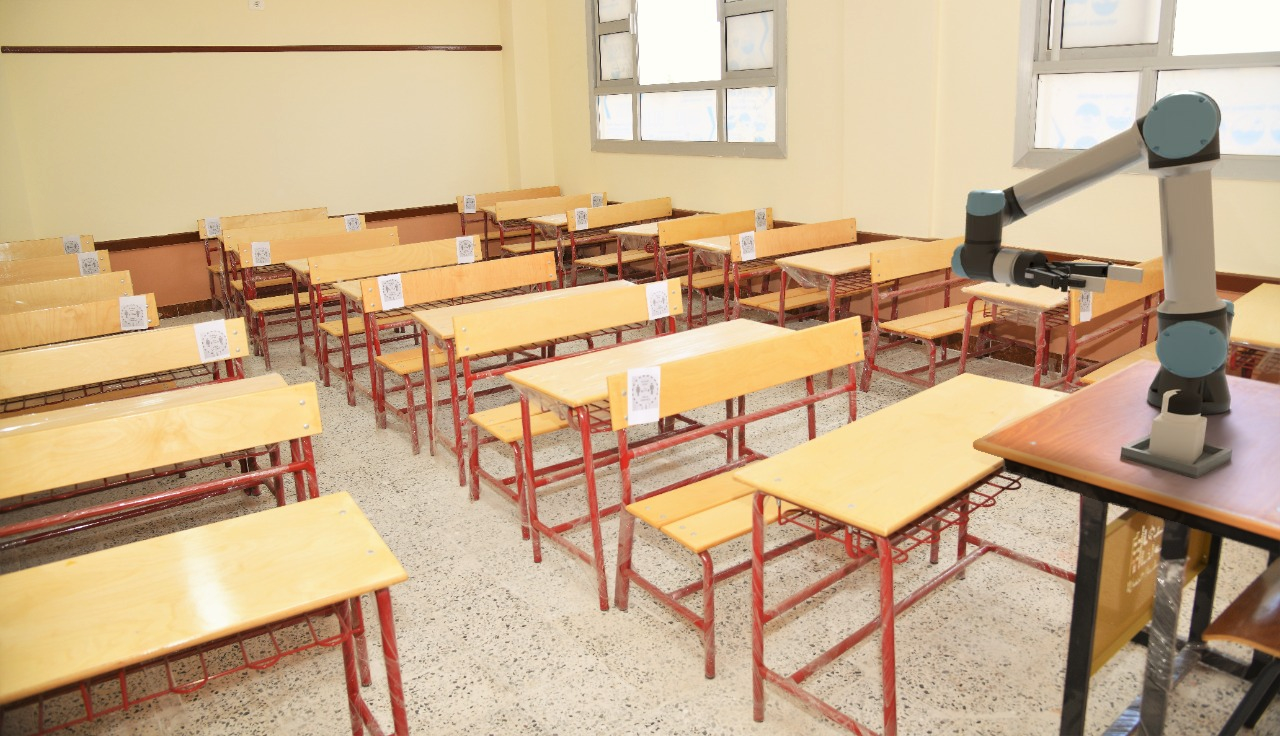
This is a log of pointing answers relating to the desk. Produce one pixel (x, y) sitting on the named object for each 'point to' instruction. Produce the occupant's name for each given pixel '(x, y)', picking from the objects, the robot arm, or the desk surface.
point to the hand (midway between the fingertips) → (1123, 280)
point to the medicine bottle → (1179, 427)
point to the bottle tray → (1205, 462)
